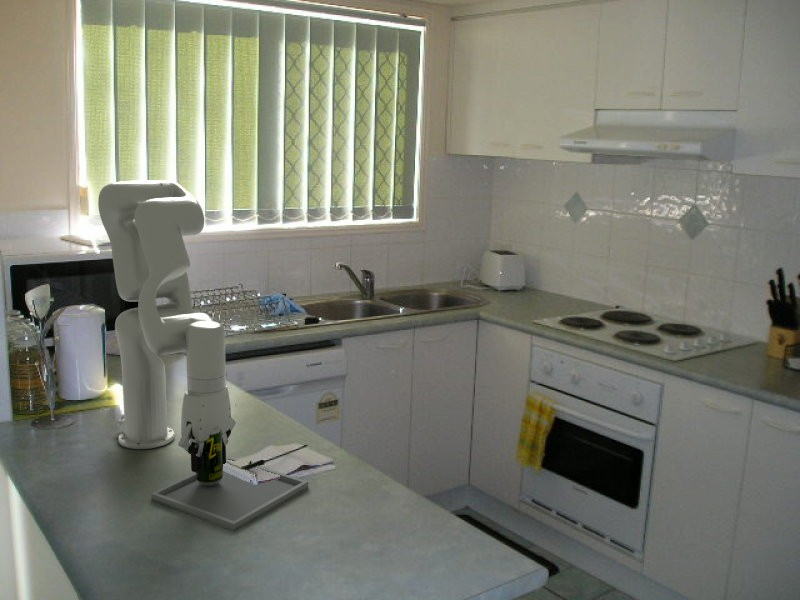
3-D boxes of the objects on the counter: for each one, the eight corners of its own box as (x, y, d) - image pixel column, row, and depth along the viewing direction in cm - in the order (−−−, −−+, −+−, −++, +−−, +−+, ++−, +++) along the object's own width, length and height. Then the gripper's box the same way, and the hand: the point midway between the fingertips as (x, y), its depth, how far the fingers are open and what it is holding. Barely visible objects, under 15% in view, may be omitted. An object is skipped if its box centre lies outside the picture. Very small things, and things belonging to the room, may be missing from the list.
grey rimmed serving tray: (151, 500, 164) (151, 493, 164) (229, 463, 182) (228, 456, 182) (234, 531, 153) (234, 523, 153) (308, 488, 171) (308, 481, 171)
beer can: (190, 481, 169) (188, 426, 167) (208, 472, 174) (207, 418, 171) (210, 488, 167) (209, 432, 164) (228, 478, 171) (227, 423, 169)
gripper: (223, 369, 175) (224, 449, 179) (160, 390, 161) (164, 477, 165) (249, 375, 171) (251, 457, 175) (188, 398, 157) (191, 487, 161)
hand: (208, 466), depth 170 cm, fingers closed on beer can, 5 cm apart
